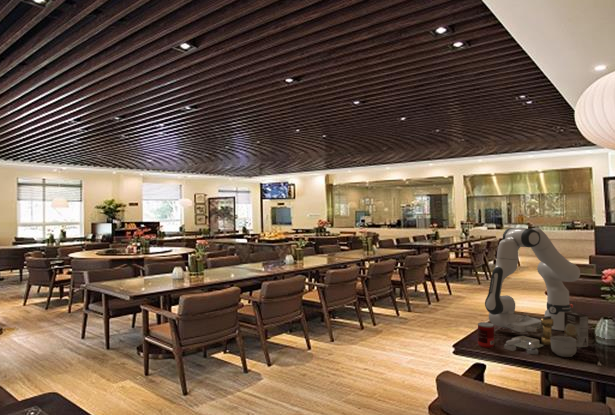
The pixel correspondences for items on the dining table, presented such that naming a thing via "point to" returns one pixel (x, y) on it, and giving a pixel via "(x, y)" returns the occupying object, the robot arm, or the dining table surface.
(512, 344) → the coupling seat
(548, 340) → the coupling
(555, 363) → the dining table surface
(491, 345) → the canned food
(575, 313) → the coffee box
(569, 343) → the teacup
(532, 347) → the shaft
